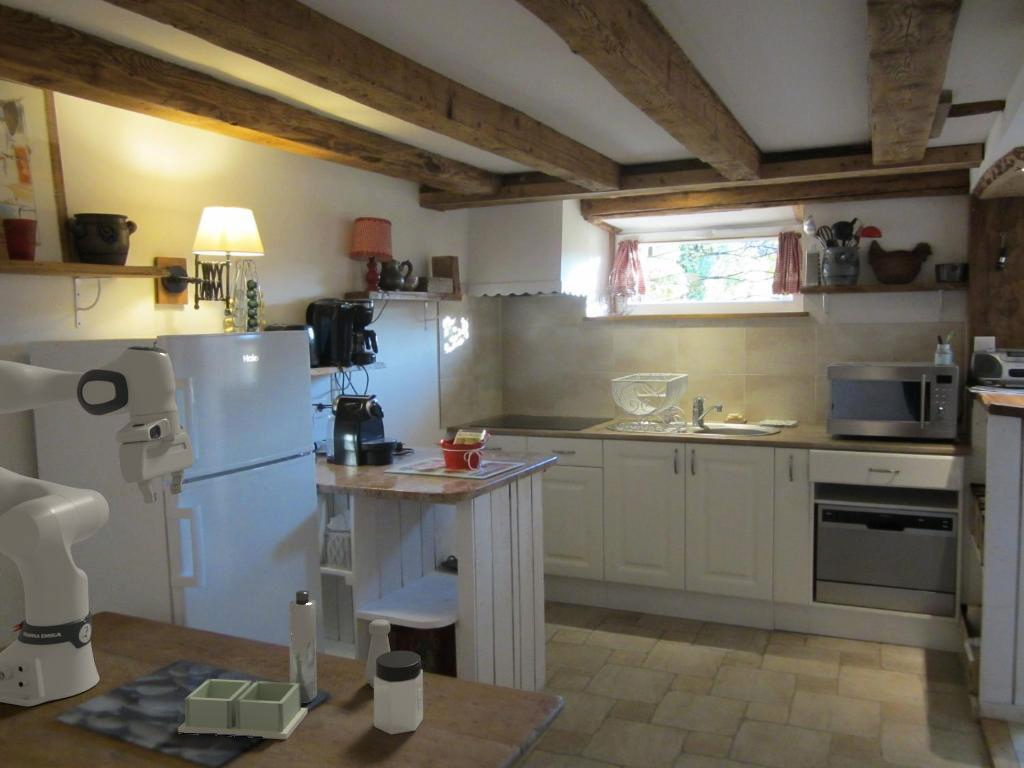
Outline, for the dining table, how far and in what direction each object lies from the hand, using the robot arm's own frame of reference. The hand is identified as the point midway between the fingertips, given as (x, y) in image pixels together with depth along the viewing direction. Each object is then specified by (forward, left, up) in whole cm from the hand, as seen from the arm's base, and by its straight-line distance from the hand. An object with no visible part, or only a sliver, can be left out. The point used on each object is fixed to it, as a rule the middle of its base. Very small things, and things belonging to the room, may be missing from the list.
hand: (164, 498), depth 158 cm
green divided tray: (+21, -11, -39) cm, 45 cm away
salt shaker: (+41, +8, -39) cm, 57 cm away
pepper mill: (+28, 0, -39) cm, 48 cm away
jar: (+49, -8, -39) cm, 63 cm away
